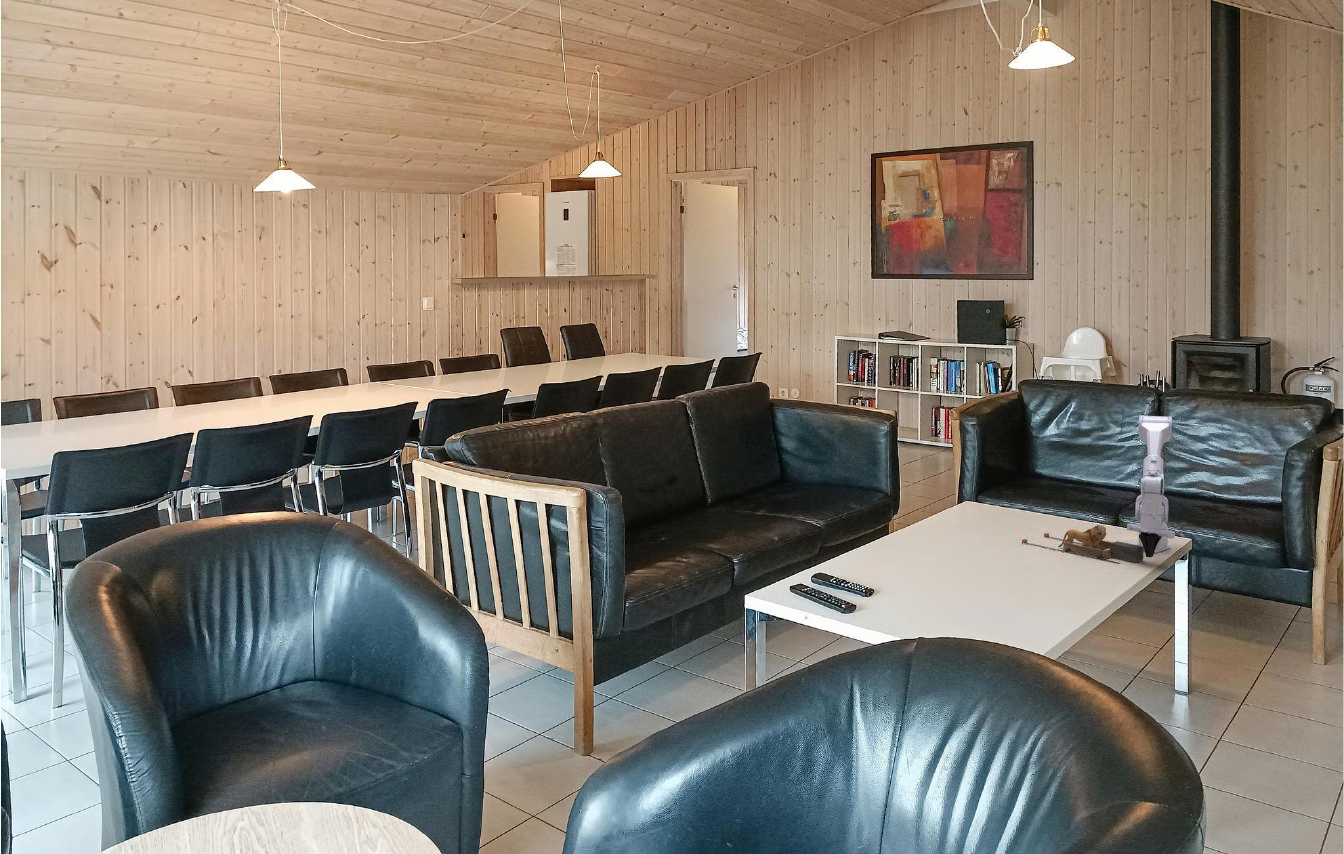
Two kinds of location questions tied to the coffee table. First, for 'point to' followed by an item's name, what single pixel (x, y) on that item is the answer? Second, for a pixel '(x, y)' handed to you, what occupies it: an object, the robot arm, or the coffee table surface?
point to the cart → (1108, 550)
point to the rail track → (1065, 551)
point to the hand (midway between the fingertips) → (1149, 556)
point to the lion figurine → (1086, 535)
